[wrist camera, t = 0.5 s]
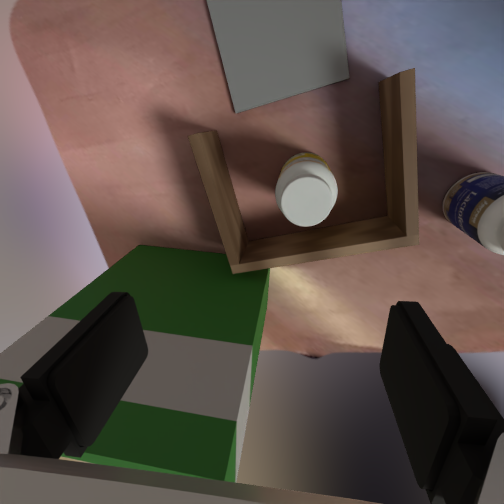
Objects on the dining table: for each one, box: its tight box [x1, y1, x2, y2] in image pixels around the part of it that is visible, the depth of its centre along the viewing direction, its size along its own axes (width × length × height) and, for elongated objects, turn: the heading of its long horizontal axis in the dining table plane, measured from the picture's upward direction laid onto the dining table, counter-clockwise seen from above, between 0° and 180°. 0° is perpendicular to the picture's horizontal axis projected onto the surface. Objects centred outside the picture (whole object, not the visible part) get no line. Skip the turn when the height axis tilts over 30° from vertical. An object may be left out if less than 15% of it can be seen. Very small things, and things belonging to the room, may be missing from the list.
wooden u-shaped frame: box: [188, 68, 419, 274], centre depth 27 cm, size 18×14×6 cm
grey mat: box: [207, 0, 349, 113], centre depth 25 cm, size 11×10×1 cm
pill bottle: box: [443, 172, 504, 255], centre depth 24 cm, size 6×6×10 cm
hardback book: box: [0, 245, 270, 483], centre depth 27 cm, size 18×7×24 cm, turn 88°
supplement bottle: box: [275, 153, 338, 227], centre depth 26 cm, size 5×5×10 cm
